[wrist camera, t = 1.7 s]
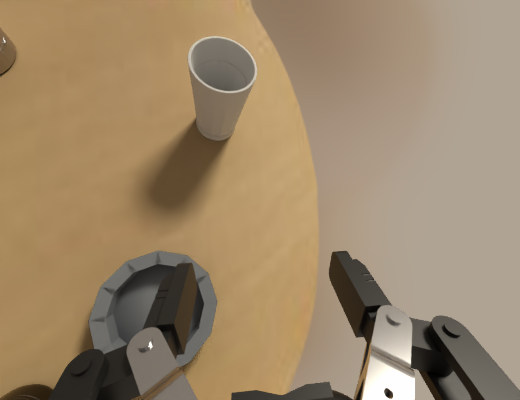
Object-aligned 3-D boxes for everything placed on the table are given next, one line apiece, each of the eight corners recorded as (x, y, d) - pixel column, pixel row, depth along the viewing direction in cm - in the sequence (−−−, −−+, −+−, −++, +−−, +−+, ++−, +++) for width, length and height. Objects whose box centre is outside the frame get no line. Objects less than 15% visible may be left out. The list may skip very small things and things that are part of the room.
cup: (242, 145, 37) (261, 95, 26) (192, 145, 35) (190, 90, 24) (236, 103, 39) (252, 40, 28) (189, 101, 37) (185, 31, 26)
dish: (84, 361, 25) (69, 374, 22) (123, 245, 29) (115, 243, 26) (201, 368, 28) (201, 381, 25) (222, 261, 32) (224, 261, 29)
